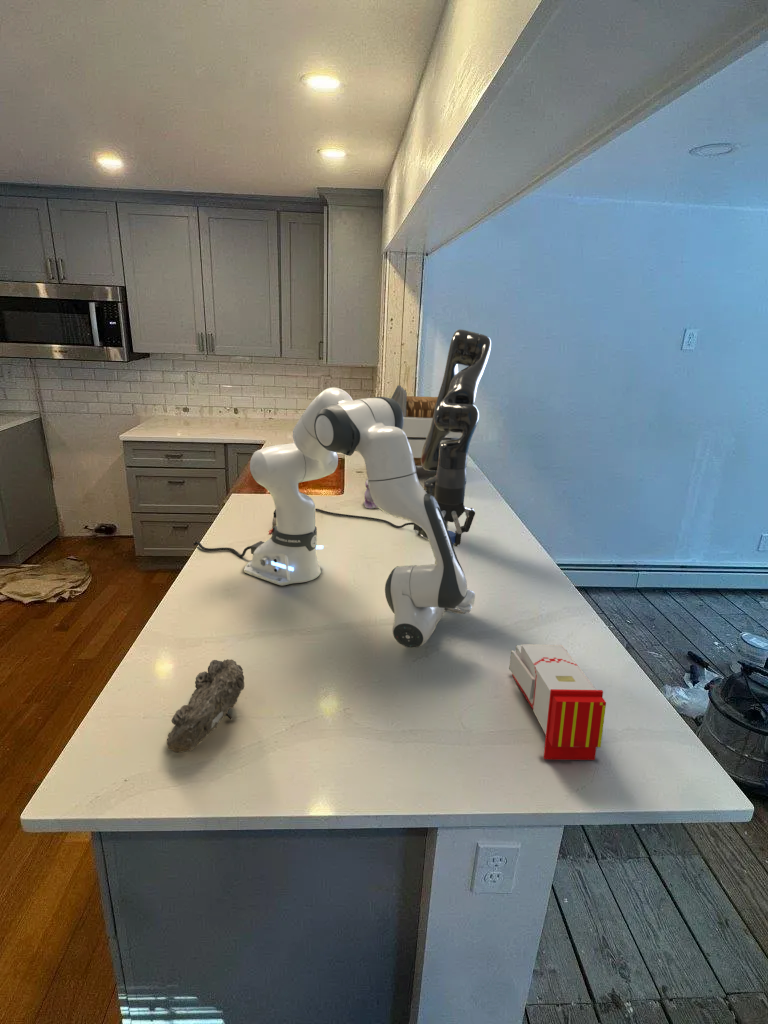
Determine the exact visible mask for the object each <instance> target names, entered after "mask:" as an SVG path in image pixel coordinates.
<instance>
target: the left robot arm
mask: <svg viewBox="0 0 768 1024" xmlns="http://www.w3.org/2000/svg"><path fill="white" fill-rule="evenodd" d="M391 398H392V397H391ZM391 398H390V397H387V396H374V397H365V398H364V397H363V398H357V399H353V398H352V396H351V395H350V394H349V392H347V391H345V390H344V389H342V388H339V387H328V388H325V389H323V390H322V391H321V392H320V393H319V394H318V395H317V396H316V397H315V398H313V400H312V401H311V402H310V403H309V405H308V406H307V407H306V409H304V411H303V413H302V415H301V416H300V418H299V419H298V420H297V422H296V424H295V425H294V427H293V430H292V440H293V442H289V443H281V444H274V445H273V444H272V445H268V446H266V447H263V448H260V449H257V450H255V451H254V452H253V453H252V455H251V457H250V461H249V472H250V474H251V477H252V478H253V480H254V481H255V482H256V483H257V484H258V485H260V486H261V487H262V488H264V489H265V490H266V491H267V492H268V493H269V494H270V496H271V498H272V500H273V503H274V508H275V509H274V511H275V510H276V526H274V527H272V528H271V529H269V530H268V531H267V532H268V536H270V535H271V537H270V538H268V539H267V540H265V541H263V540H260V541H258V542H256V543H254V544H252V545H247V546H246V547H245V548H244V549H243V550H242V553H241V554H240V553H239V552H238V550H236V549H234V548H232V547H215V548H214V547H212V548H211V547H210V548H209V547H205V546H203V545H202V543H201V542H200V541H198V540H196V541H194V543H193V546H196V545H197V546H198V547H199V548H200V549H202V550H203V551H205V552H217V551H220V552H221V551H229V552H232V553H233V554H235V555H236V556H237V557H239V558H244V557H245V555H246V553H247V551H248V550H250V554H251V555H252V558H251V560H249V561H248V562H247V563H246V565H244V569H243V572H244V573H246V574H247V575H250V576H253V577H255V578H258V579H261V580H264V581H267V582H270V583H271V584H275V585H278V586H281V587H282V586H286V585H291V584H299V583H301V584H302V583H306V582H310V581H313V580H315V579H317V578H318V577H319V576H320V575H321V573H322V570H321V566H320V563H319V560H318V559H319V558H318V553H317V552H318V551H317V550H323V549H324V545H318V529H317V526H316V510H315V509H316V503H315V501H314V500H313V498H311V497H310V496H309V495H307V494H306V493H304V492H301V491H300V489H299V483H303V482H310V481H316V480H320V479H323V478H325V477H327V476H330V475H332V474H334V473H335V472H336V470H337V468H338V465H339V456H338V453H339V454H343V455H345V456H349V457H351V456H353V454H354V452H356V453H358V454H359V455H361V457H362V458H363V460H364V461H363V462H364V465H365V470H366V479H367V478H368V484H369V489H370V494H371V497H372V500H373V502H374V503H375V505H376V506H377V507H378V508H377V509H379V510H380V511H382V512H383V513H385V514H387V515H388V516H392V517H395V518H398V519H402V520H405V521H408V522H410V523H411V522H413V523H415V524H417V525H419V526H420V527H421V528H422V529H423V530H424V531H425V532H426V534H427V537H428V540H427V541H428V542H429V543H428V544H429V545H430V546H429V547H430V549H431V551H432V554H433V557H434V561H435V560H436V563H437V564H435V563H434V564H410V565H399V566H398V565H397V566H396V567H394V568H393V569H392V570H391V571H390V573H389V574H388V577H387V579H386V581H385V585H384V593H385V599H386V602H387V605H388V607H389V609H390V611H391V612H392V613H393V614H394V615H393V616H394V619H393V625H392V634H393V638H394V639H395V642H397V643H398V644H400V645H402V646H403V647H406V648H412V649H415V648H419V647H421V646H423V645H424V644H425V643H427V642H428V641H429V639H430V638H431V637H432V635H433V633H434V632H435V630H436V628H437V626H438V625H437V624H438V623H439V622H440V621H441V619H442V617H443V615H444V614H445V612H448V613H454V614H459V615H465V614H467V613H468V614H469V613H470V612H471V611H472V609H473V607H474V604H475V602H476V601H475V600H476V593H475V592H474V591H473V590H470V589H468V581H467V577H466V575H465V572H464V569H463V567H462V565H461V562H460V561H459V559H458V556H457V554H456V550H455V546H454V547H453V544H452V541H451V538H450V535H449V532H448V530H449V528H448V529H447V526H446V524H445V521H444V518H443V515H442V513H441V510H440V507H439V505H438V503H437V501H436V499H435V498H434V497H433V496H432V495H430V494H427V493H426V491H425V490H424V486H422V484H421V482H420V480H419V477H418V473H417V468H416V467H417V466H415V462H414V458H413V454H412V450H411V447H410V444H409V441H408V439H407V436H406V434H405V432H404V431H403V430H402V428H403V423H404V418H403V413H402V410H401V408H400V406H399V404H398V403H397V402H396V401H395V400H393V399H391Z"/></svg>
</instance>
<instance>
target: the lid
mask: <svg viewBox="0 0 768 1024" xmlns="http://www.w3.org/2000/svg"><path fill="white" fill-rule="evenodd" d="M448 532H449V535H450V538H451V541H452V544H454V543H455V539H456V534H455V532H454V531H452V530H449V529H448Z"/></svg>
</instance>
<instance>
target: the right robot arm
mask: <svg viewBox="0 0 768 1024" xmlns="http://www.w3.org/2000/svg"><path fill="white" fill-rule="evenodd" d="M491 348H492V340H491V338H490V337H489V336H488V335H486V334H483V333H479V332H475V331H470V330H466V329H456V330H455V332H454V333H453V335H452V337H451V340H450V344H449V349H448V353H447V357H446V364H445V368H444V372H443V377H442V382H441V385H440V388H439V392H438V394H437V397H438V398H437V402H436V405H435V410H434V414H433V419H432V423H431V426H430V430H429V433H428V435H427V438H426V441H425V443H424V446H423V449H422V454H421V465H422V466H421V467H422V469H423V470H424V471H428V472H429V471H430V472H436V473H435V475H433V476H431V477H429V478H427V479H425V480H424V482H423V489H424V490H425V491H426V493H427V494H430V495H432V496H433V497H434V498H435V499H436V501H437V503H438V505H439V507H440V510H441V513H442V515H443V518H444V521H445V524H446V526H447V529H448V530H449V523H454V526H455V527H454V528H455V532H454V533H455V534H456V539H455V543H454V548H458V547H459V546H460V545H461V542H462V535H463V533H468V532H470V528H471V527H472V524H473V522H474V518H475V515H476V511H475V509H474V507H470V508H468V507H465V494H466V486H467V463H468V455H469V449H470V444H471V441H472V438H473V435H474V434H475V431H476V428H477V426H478V424H479V421H480V420H479V419H480V412H479V409H478V408H477V406H476V405H474V404H475V401H476V397H477V392H478V391H477V390H478V386H479V384H480V381H481V378H482V376H483V374H484V371H485V368H486V366H487V363H488V360H489V357H490V354H491V350H492V349H491ZM458 365H461V366H464V367H465V368H463V369H461V370H460V371H459V366H458ZM450 432H456V433H462V436H461V437H460V438H459V439H457V440H450V441H445V442H442V443H440V442H441V441H442V440H443V439H444V438H445V437H446V436H447V435H448V434H449V433H450ZM316 511H317V512H320V513H324V514H327V515H333V516H339V517H347V518H354V519H362V520H363V519H364V520H370V521H371V520H372V521H378V522H382V523H385V524H388V525H390V526H392V527H393V528H396V529H402V528H404V527H407V526H413V531H416V532H417V535H418V536H420V538H421V539H424V540H426V541H429V540H428V537H427V534H426V532H425V531H424V530H423V529H422V528H421V527H420V526H419V525H417V524H415V523H413V522H411V521H410V522H405V523H403V524H401V525H396V524H394V523H392V522H391V521H389V520H386V519H382V518H376V517H371V516H364V515H363V516H362V515H354V514H345V513H338V512H333V511H327V510H323V509H320V508H316V507H315V512H316ZM464 513H465V514H464ZM463 514H464V515H465V517H466V518H465V520H464V524H463V525H461V523H460V520H459V518H460V517H461V516H462V515H463Z"/></svg>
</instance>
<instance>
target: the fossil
mask: <svg viewBox="0 0 768 1024" xmlns="http://www.w3.org/2000/svg"><path fill="white" fill-rule="evenodd" d="M243 670H244V669H243V667H242V665H240V664H237V662H236V661H235V660H234V659H232V658H231V659H227V658H226V659H224V660H223V661H222V660H217V659H212V660H211V661H210V663H209V665H208V666H207V671H201V672H199V673H198V674H197V675H196V676H195V680H194V684H195V685H194V687H195V689H194V690H193V693H192V694H191V697H190V698H189V700H188V704H184V705H182V706H181V707H180V709H177V710H176V711H175V713H174V715H173V716H172V718H171V723H172V724H173V727H172V730H171V731H170V732H168V734H167V738H166V741H167V742H166V745H167V749H168V750H169V751H173V752H174V753H176V754H178V753H182V752H188V751H189V752H192V751H193V750H195V748H196V747H197V746H199V744H200V743H201V742H203V741H204V740H205V739H206V738H207V737H208V736H209V735H210V734H211V733H212V732H214V730H215V729H217V727H218V726H219V724H220V722H221V721H222V720H223V719H224V718H225V716H226V717H227V719H229V720H233V717H232V715H230V714H229V710H230V709H231V708H234V706H235V704H236V703H237V702H238V699H239V697H240V695H241V693H242V691H243V690H245V689H244V688H245V675H244V671H243Z"/></svg>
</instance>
